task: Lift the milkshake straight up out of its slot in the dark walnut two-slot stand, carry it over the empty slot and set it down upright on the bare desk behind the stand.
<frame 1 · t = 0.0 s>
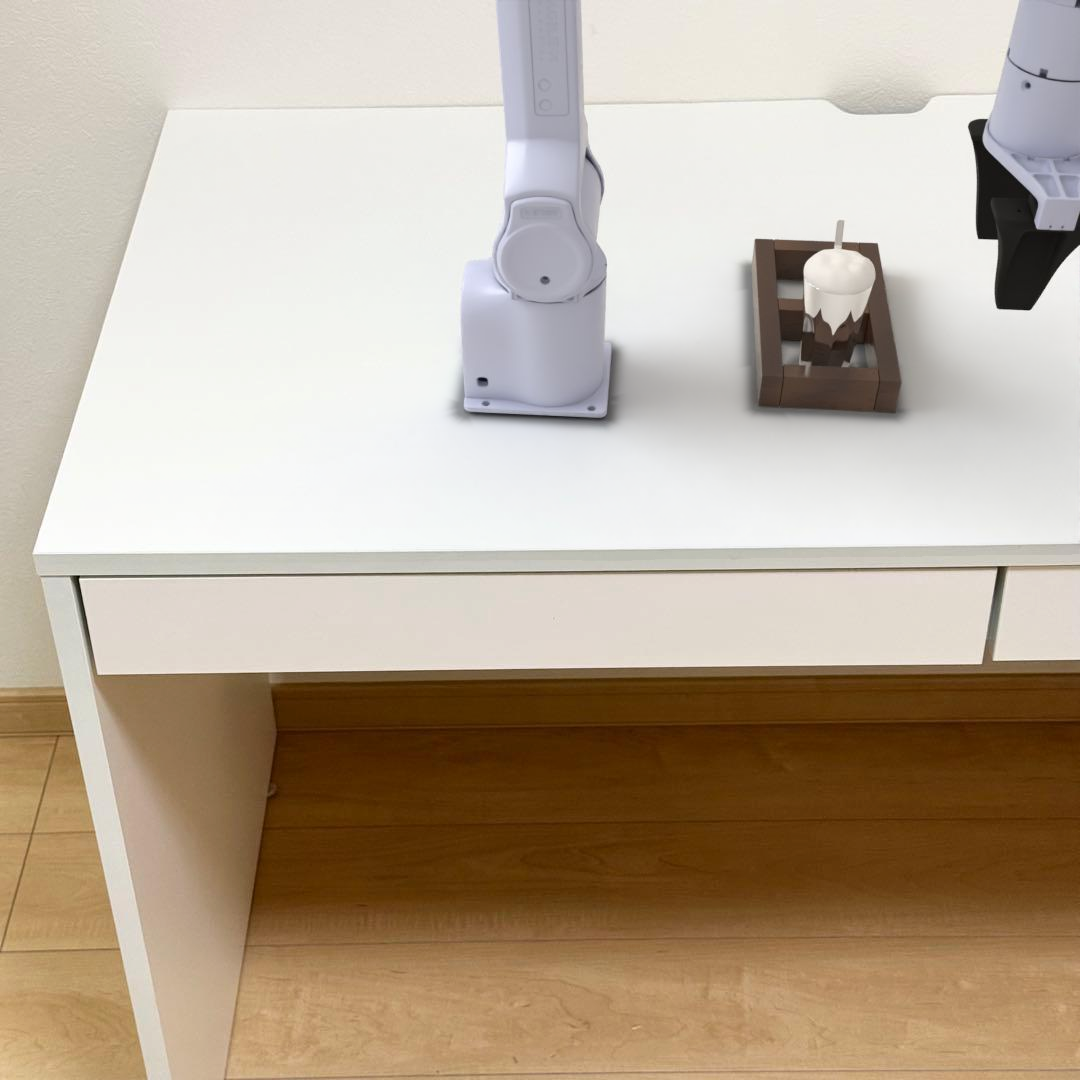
hand: (1002, 270, 84), 10 cm above the table, tool pointing down, fingers open, 7 cm apart
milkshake: (821, 370, 93), on the table
rack: (818, 335, 96), on the table
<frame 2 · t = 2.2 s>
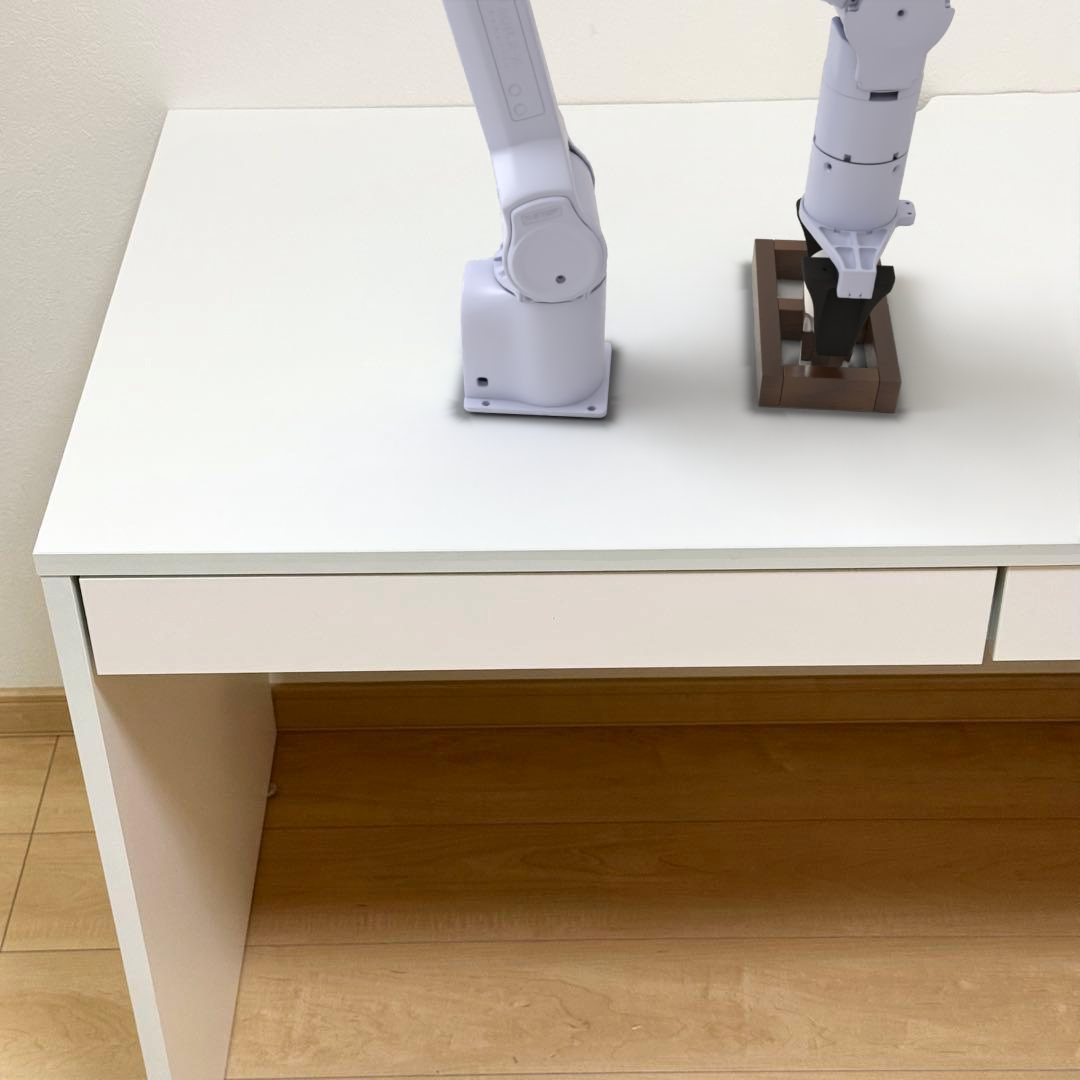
hand: (828, 328, 91), 3 cm above the table, tool pointing down, fingers closed on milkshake, 5 cm apart
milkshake: (821, 370, 93), on the table, touching gripper
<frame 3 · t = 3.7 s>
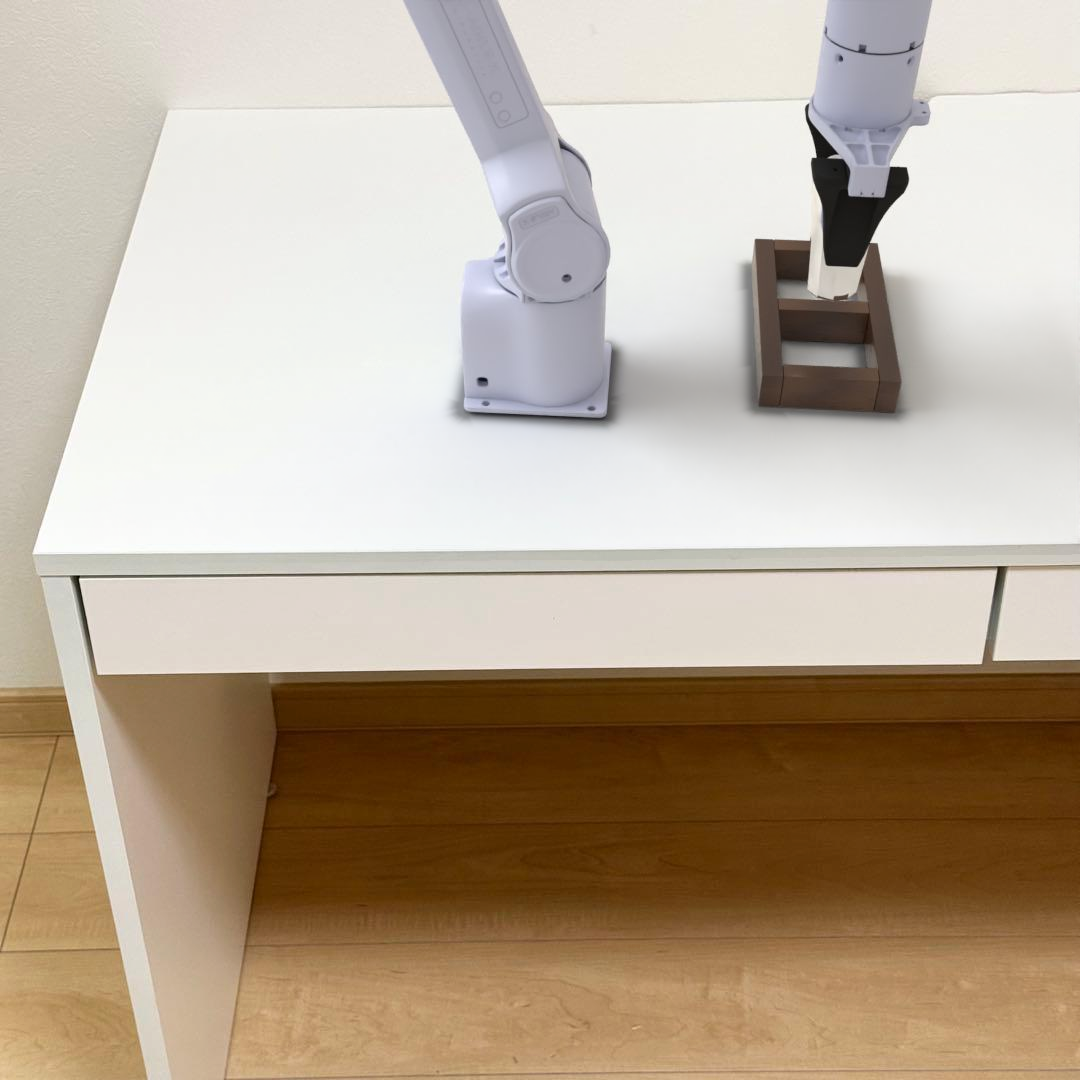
hand: (838, 239, 87), 10 cm above the table, tool pointing down, fingers closed on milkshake, 5 cm apart
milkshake: (830, 286, 90), point 6 cm above the table, touching gripper
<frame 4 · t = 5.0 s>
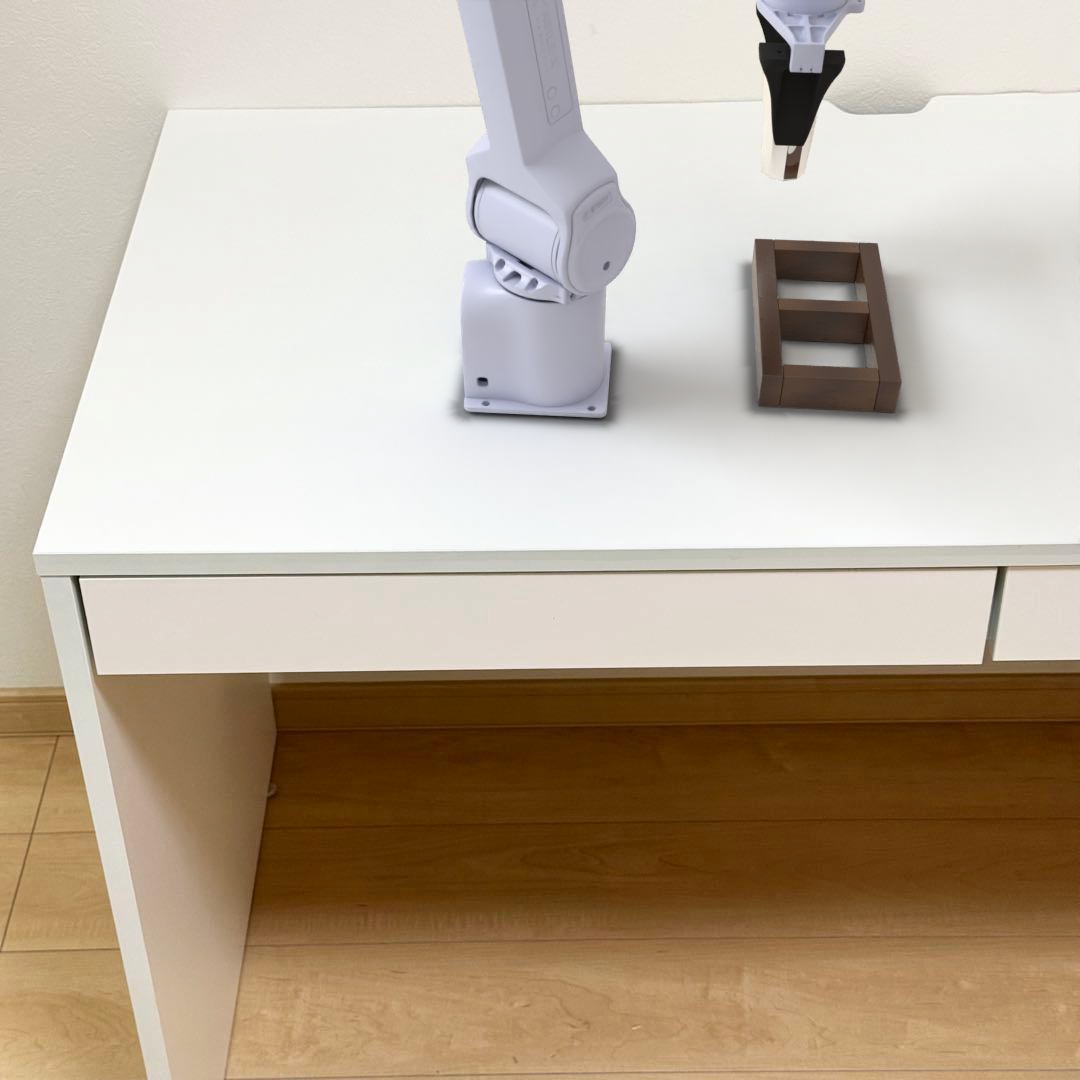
hand: (787, 124, 97), 10 cm above the table, tool pointing down, fingers closed on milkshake, 5 cm apart
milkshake: (782, 169, 99), point 7 cm above the table, touching gripper
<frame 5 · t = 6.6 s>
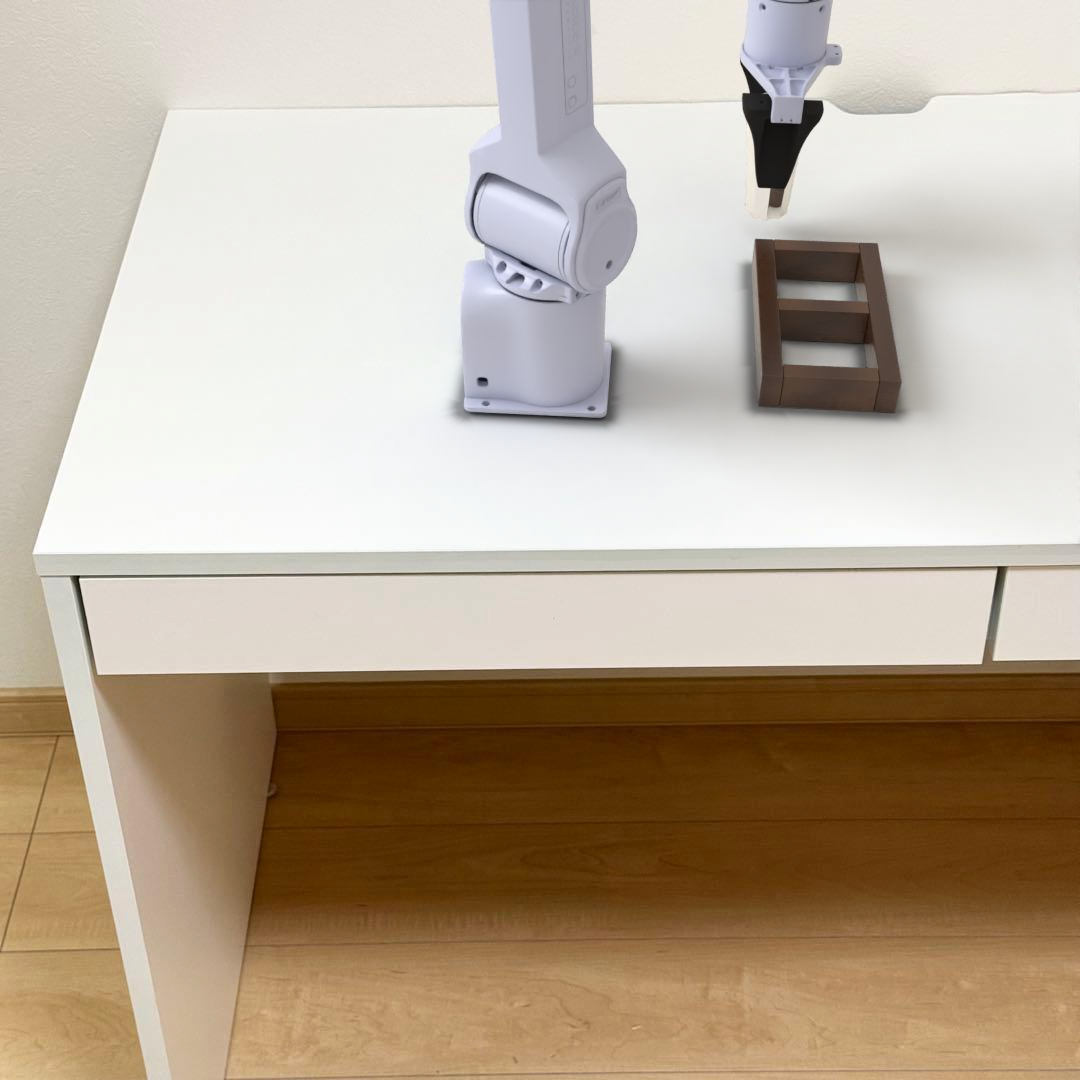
hand: (770, 167, 102), 6 cm above the table, tool pointing down, fingers closed on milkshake, 5 cm apart
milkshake: (765, 209, 104), point 2 cm above the table, touching gripper
when the fingers open (3 cm above the table, at t = 7.8 s): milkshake stays where it is, on the table.
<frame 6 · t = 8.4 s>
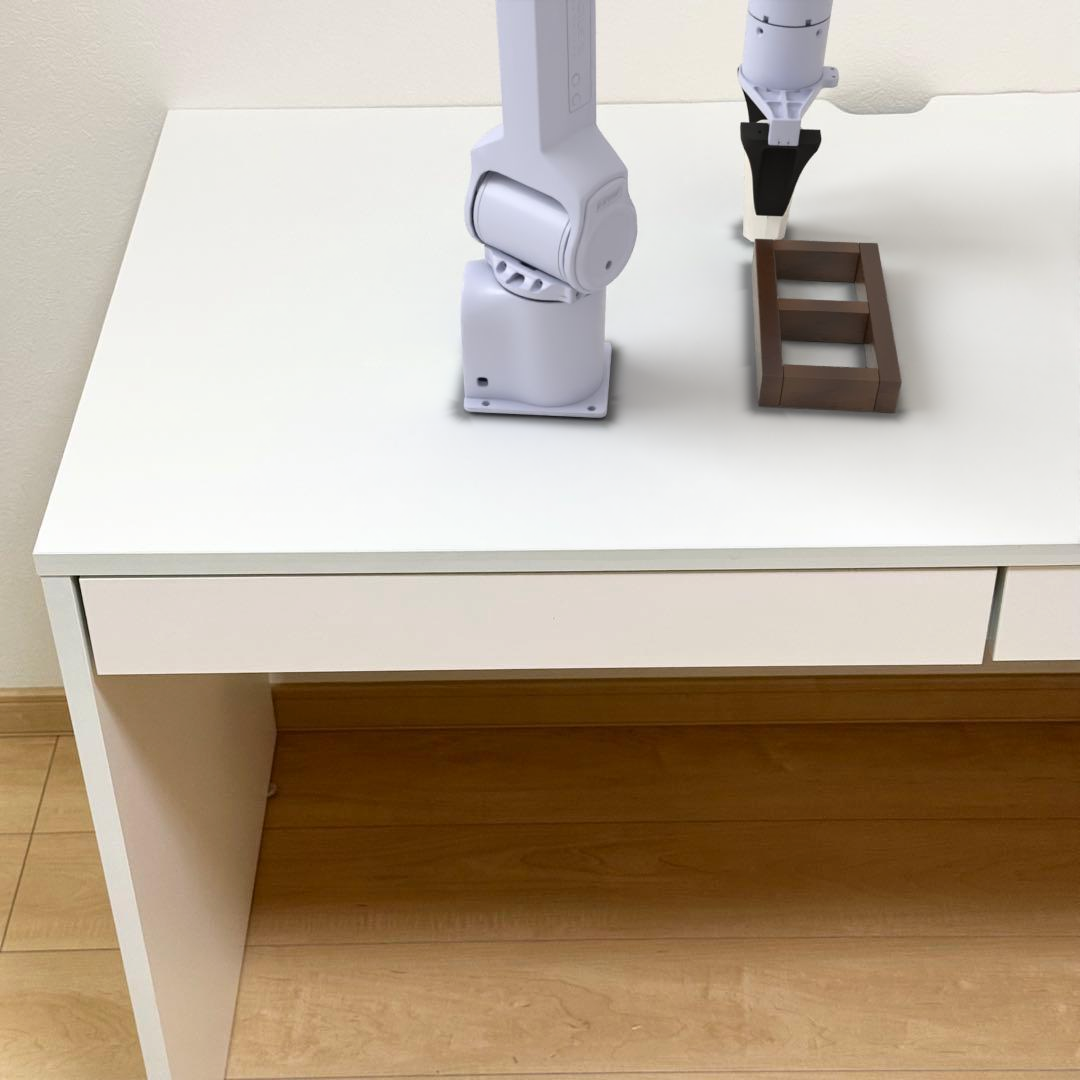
hand: (767, 187, 103), 4 cm above the table, tool pointing down, fingers open, 7 cm apart
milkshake: (763, 233, 106), on the table
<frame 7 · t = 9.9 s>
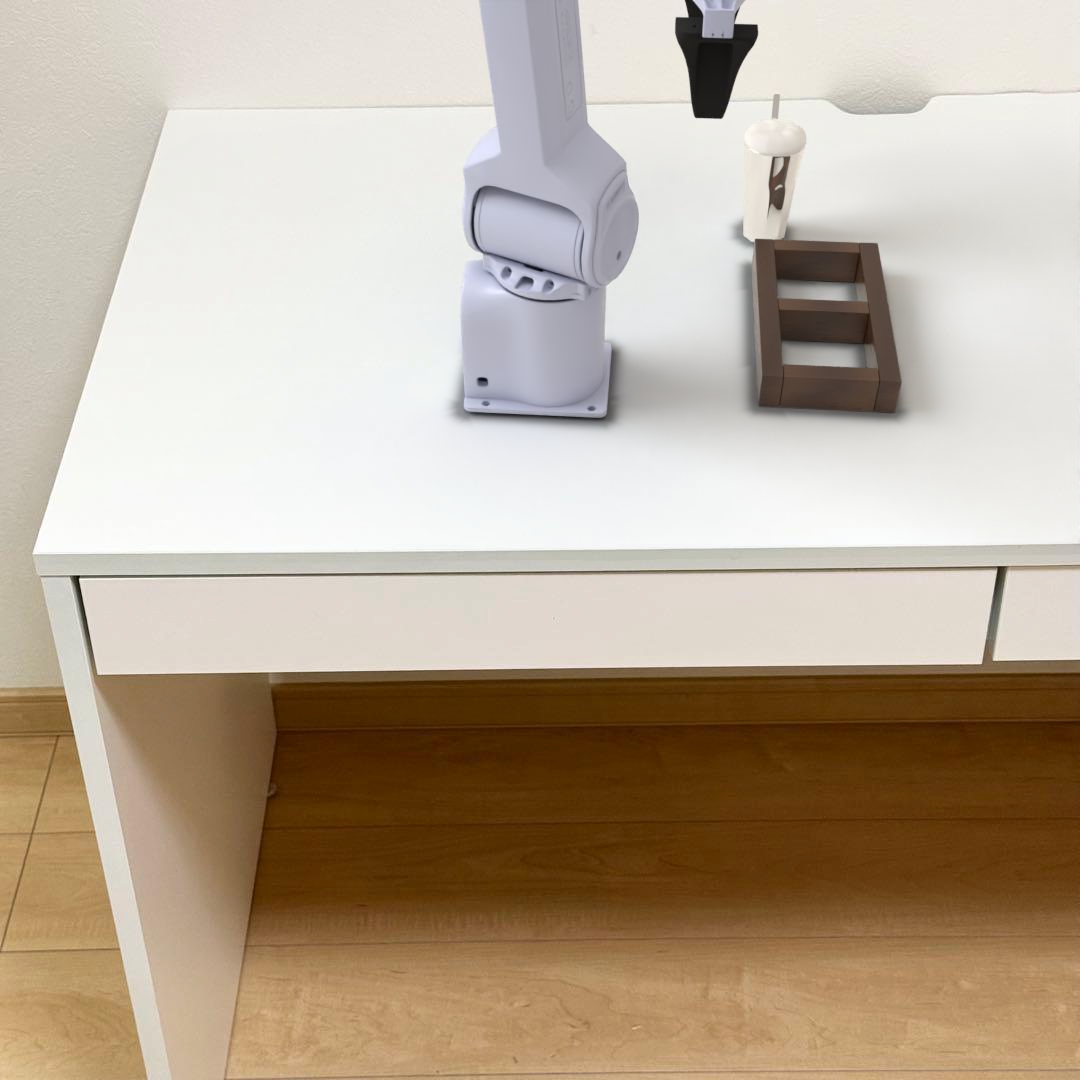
hand: (708, 91, 100), 10 cm above the table, tool pointing down, fingers open, 7 cm apart
nothing on the table moved.
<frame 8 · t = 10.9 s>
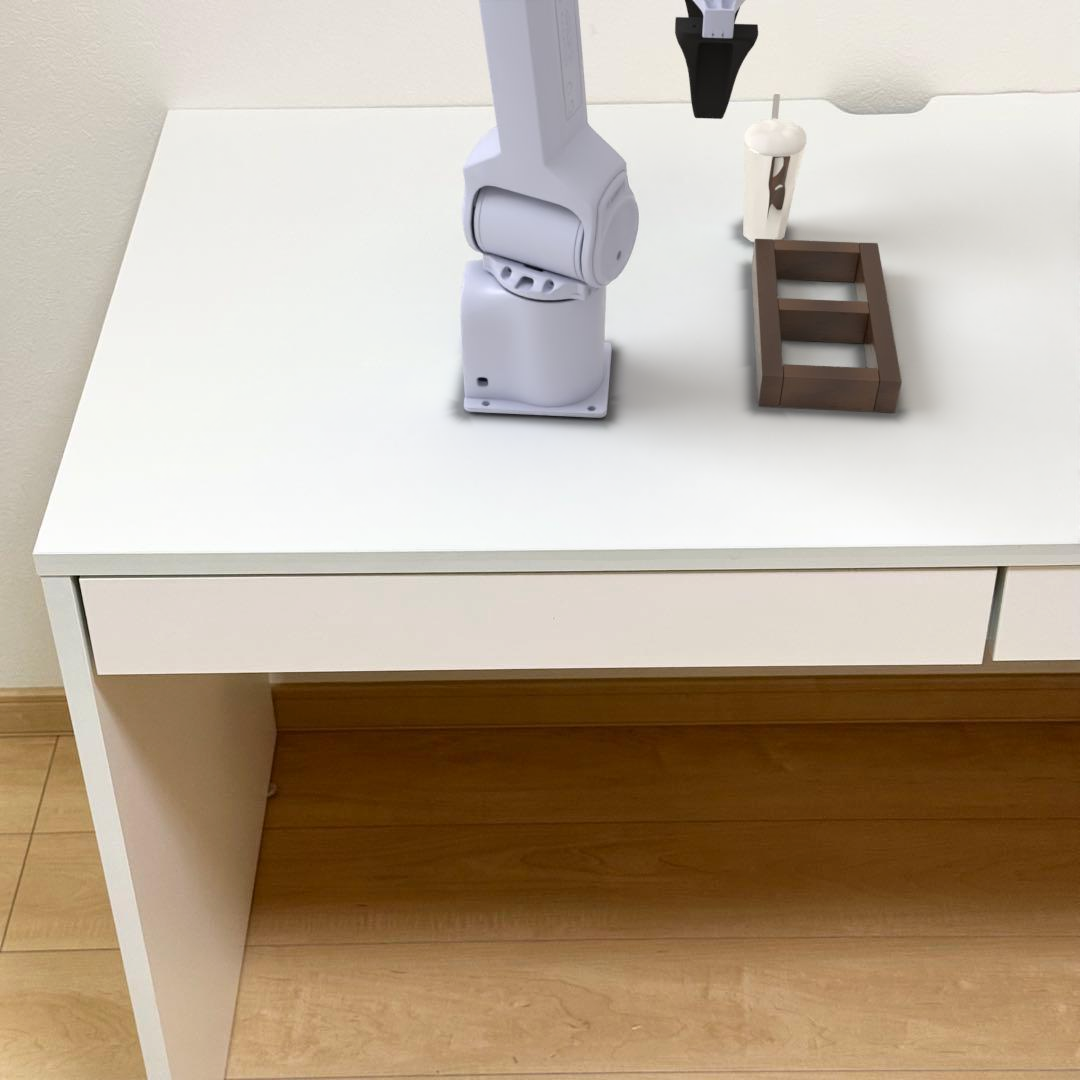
hand: (708, 91, 100), 10 cm above the table, tool pointing down, fingers open, 7 cm apart
nothing on the table moved.
at the end: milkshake inside the target area (0.1 cm from its centre), on the table; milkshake tilted 0°; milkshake touching table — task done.
